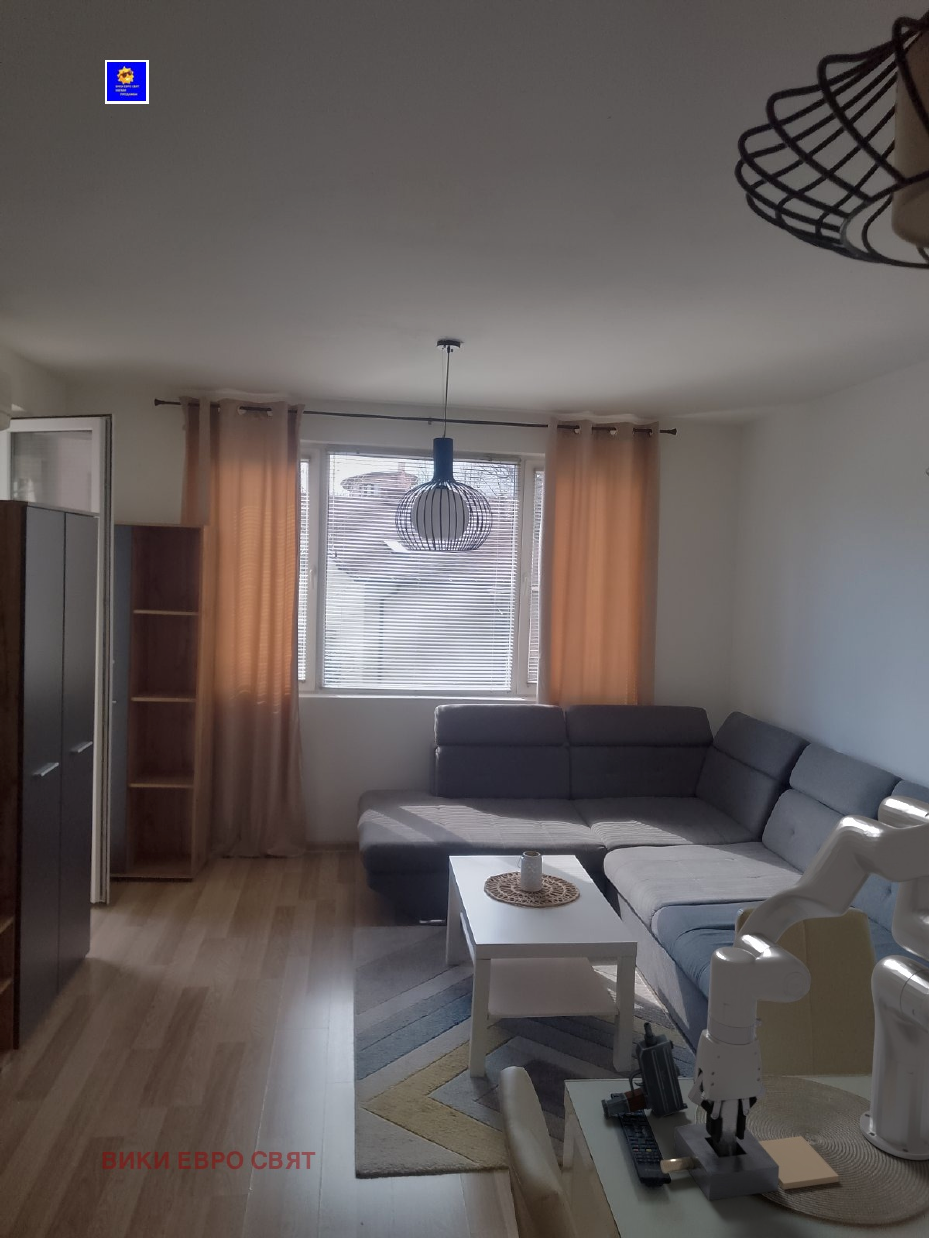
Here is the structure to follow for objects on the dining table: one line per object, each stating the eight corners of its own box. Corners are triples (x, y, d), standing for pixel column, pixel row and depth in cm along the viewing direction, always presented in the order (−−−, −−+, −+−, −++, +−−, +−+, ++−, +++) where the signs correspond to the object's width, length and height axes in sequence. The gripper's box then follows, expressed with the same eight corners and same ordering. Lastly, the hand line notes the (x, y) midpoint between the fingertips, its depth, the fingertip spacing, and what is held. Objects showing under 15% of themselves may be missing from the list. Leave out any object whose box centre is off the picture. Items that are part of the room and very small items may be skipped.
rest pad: (801, 1141, 149) (801, 1135, 149) (838, 1181, 139) (838, 1175, 139) (749, 1148, 146) (749, 1142, 146) (783, 1189, 137) (783, 1183, 137)
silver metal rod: (728, 1151, 143) (732, 1076, 142) (739, 1165, 139) (743, 1089, 139) (708, 1153, 142) (712, 1078, 142) (719, 1168, 139) (723, 1091, 138)
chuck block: (737, 1141, 148) (738, 1118, 148) (777, 1190, 136) (779, 1165, 136) (646, 1152, 144) (647, 1129, 144) (679, 1204, 133) (680, 1179, 132)
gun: (586, 1038, 154) (664, 1013, 156) (606, 1123, 155) (683, 1098, 157) (590, 1046, 151) (669, 1021, 153) (610, 1133, 153) (688, 1107, 155)
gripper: (763, 1011, 145) (757, 1116, 146) (673, 1019, 141) (668, 1126, 142) (790, 1034, 138) (783, 1145, 139) (695, 1043, 134) (689, 1156, 135)
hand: (725, 1134), depth 141 cm, fingers closed on silver metal rod, 3 cm apart
